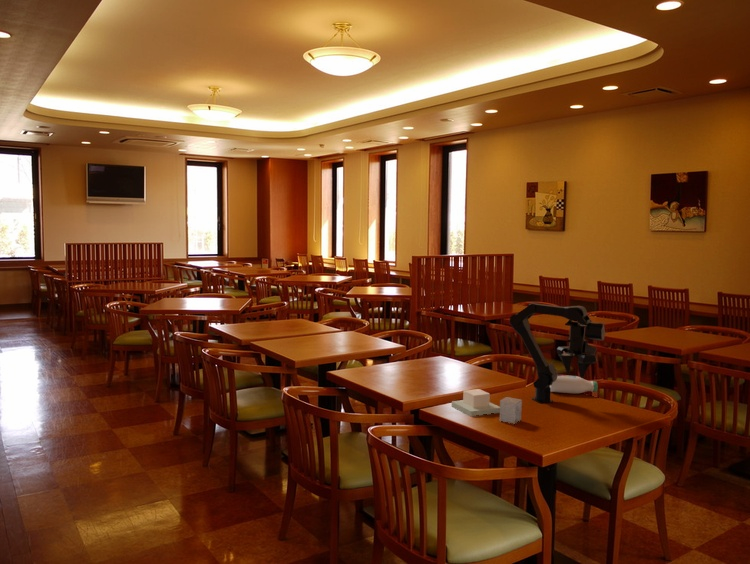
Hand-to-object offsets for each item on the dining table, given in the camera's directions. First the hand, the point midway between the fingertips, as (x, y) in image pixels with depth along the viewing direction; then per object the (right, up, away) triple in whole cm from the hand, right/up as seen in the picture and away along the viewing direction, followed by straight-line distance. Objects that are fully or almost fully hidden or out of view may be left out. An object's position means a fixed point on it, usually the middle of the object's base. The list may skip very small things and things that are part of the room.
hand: (574, 375), depth 247 cm
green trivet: (-41, -13, -6) cm, 43 cm away
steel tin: (-31, -14, -19) cm, 39 cm away
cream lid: (-41, -11, -6) cm, 43 cm away
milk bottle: (-4, -7, +23) cm, 24 cm away
